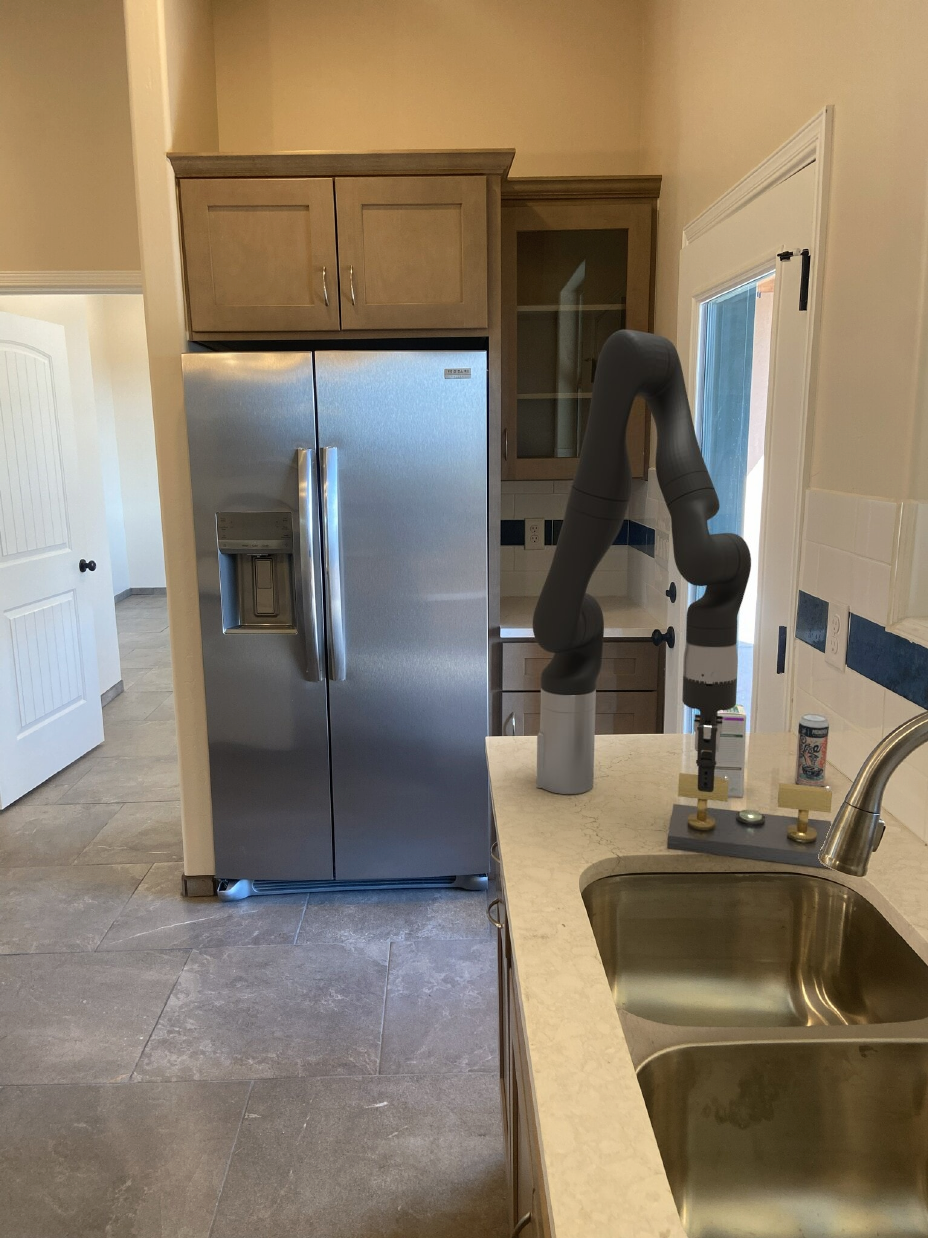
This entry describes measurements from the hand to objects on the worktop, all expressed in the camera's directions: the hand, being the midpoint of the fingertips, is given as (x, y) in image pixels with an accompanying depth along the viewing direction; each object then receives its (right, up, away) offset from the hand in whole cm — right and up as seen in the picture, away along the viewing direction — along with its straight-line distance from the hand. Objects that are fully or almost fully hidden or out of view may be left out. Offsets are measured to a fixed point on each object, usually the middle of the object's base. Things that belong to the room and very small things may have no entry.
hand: (706, 780), depth 131 cm
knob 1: (0, -7, +1) cm, 7 cm away
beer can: (+24, -5, +22) cm, 33 cm away
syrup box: (+8, -6, +20) cm, 22 cm away
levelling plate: (+7, -9, +1) cm, 11 cm away
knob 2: (+13, -8, -2) cm, 15 cm away
